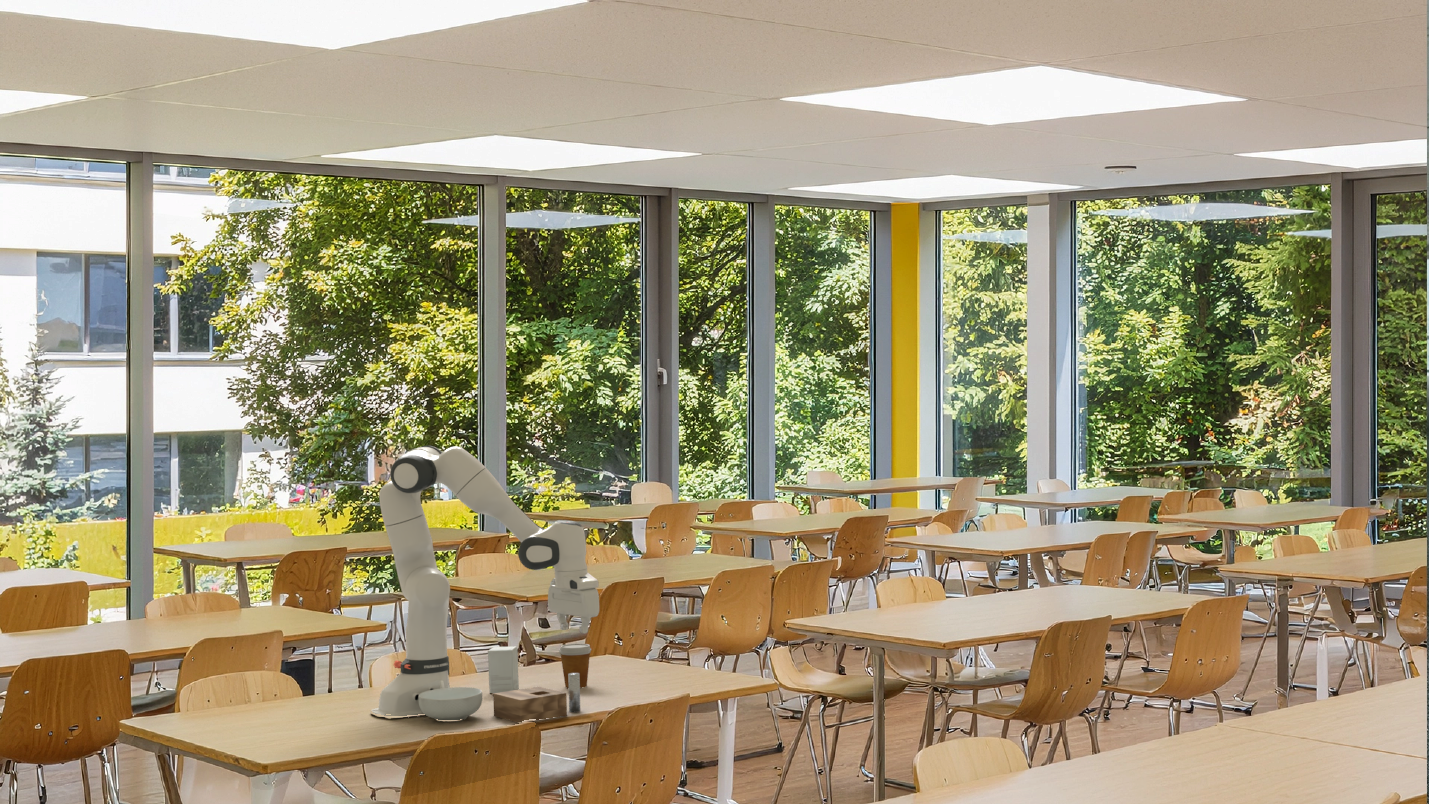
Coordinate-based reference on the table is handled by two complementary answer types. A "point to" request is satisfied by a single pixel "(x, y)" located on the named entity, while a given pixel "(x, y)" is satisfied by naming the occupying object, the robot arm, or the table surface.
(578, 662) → the disposable coffee cup
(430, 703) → the cereal bowl
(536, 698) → the socket block
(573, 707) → the pin
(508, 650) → the supplement box
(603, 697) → the table surface
